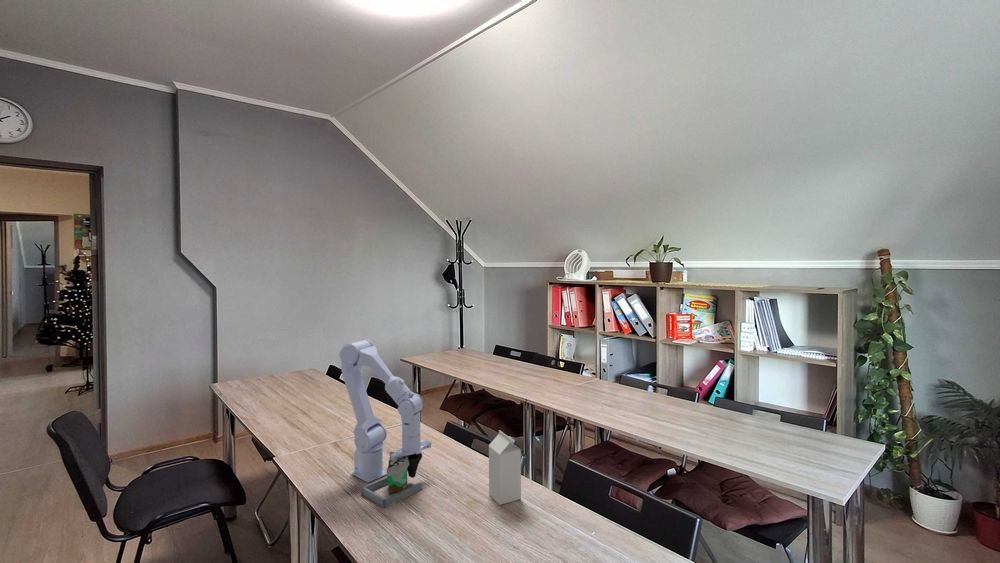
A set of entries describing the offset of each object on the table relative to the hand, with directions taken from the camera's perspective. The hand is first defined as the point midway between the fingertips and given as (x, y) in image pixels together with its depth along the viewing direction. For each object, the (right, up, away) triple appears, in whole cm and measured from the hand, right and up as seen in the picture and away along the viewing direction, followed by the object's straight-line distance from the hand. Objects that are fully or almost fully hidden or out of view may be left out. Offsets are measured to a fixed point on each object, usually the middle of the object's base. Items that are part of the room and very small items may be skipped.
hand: (411, 476), depth 144 cm
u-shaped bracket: (-5, -2, -6) cm, 8 cm away
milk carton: (+29, -3, -9) cm, 31 cm away
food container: (-2, -2, -5) cm, 6 cm away
